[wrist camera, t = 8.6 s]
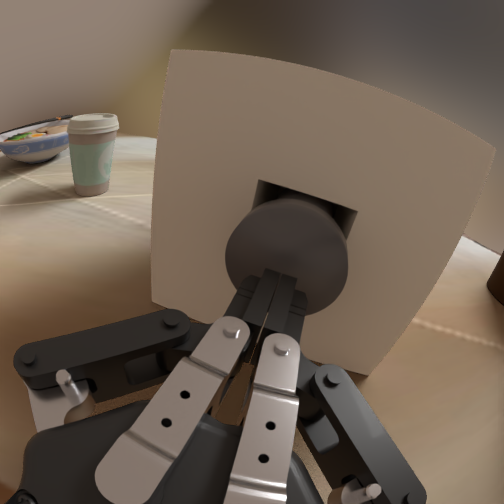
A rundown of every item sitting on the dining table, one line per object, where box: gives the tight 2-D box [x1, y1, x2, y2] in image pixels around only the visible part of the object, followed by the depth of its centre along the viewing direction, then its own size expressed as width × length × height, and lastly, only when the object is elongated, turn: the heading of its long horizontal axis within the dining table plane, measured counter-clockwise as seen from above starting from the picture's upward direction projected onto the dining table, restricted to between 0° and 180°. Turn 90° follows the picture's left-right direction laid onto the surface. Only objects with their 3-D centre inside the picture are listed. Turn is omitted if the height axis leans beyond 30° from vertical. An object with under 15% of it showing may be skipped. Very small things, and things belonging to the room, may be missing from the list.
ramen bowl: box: [0, 115, 73, 164], centre depth 47 cm, size 25×23×8 cm
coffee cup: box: [66, 114, 119, 196], centre depth 37 cm, size 9×8×12 cm
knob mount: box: [151, 50, 496, 376], centre depth 22 cm, size 20×12×20 cm, turn 74°
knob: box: [225, 187, 348, 316], centre depth 18 cm, size 6×9×6 cm
